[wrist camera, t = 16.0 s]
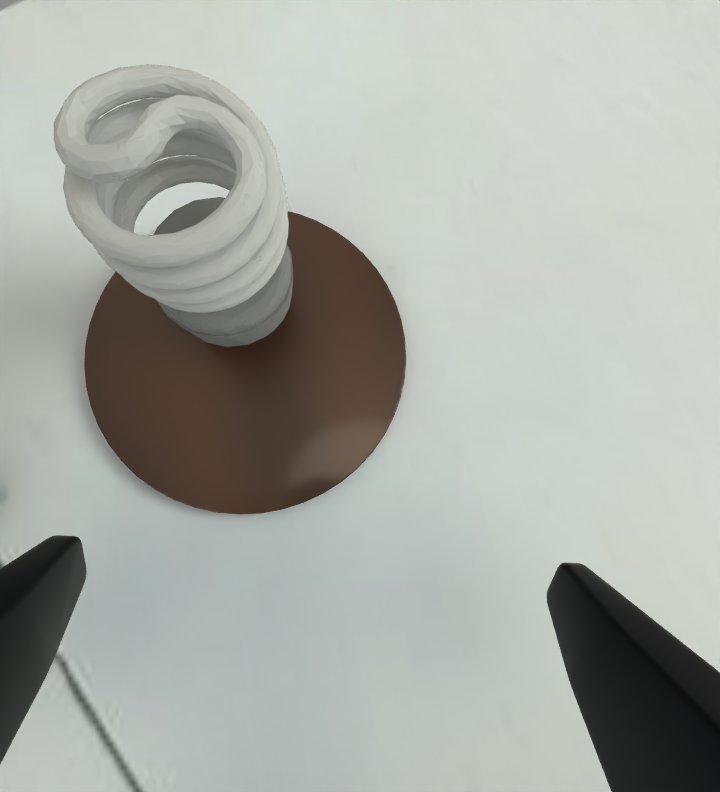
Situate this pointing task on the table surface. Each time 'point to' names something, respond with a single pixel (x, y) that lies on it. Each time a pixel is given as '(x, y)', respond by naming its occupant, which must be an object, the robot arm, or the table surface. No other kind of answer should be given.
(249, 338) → the light bulb
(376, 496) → the table surface
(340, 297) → the disc
